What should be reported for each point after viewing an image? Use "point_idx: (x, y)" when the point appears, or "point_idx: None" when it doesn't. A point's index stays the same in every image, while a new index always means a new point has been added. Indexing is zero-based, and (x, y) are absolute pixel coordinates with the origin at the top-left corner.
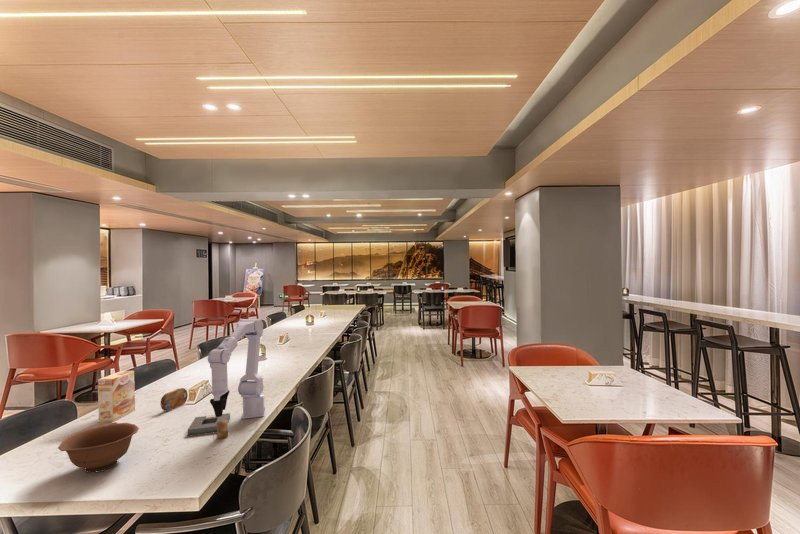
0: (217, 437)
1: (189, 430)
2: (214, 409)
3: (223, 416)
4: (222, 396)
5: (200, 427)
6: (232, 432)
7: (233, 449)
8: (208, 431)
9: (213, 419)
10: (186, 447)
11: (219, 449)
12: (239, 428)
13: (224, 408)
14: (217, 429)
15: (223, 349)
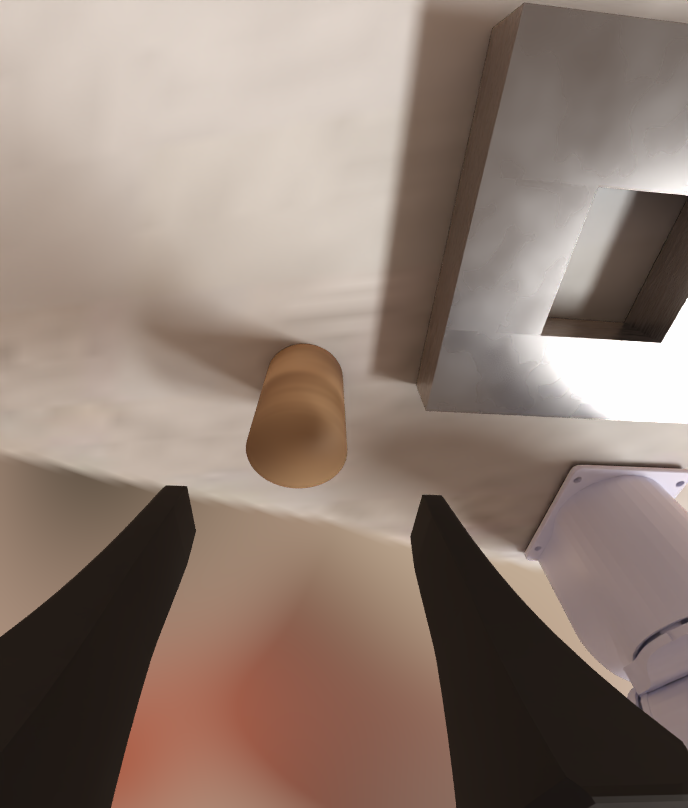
0: (285, 351)
1: (512, 41)
2: (75, 583)
3: (653, 384)
4: (477, 740)
5: (501, 192)
6: (363, 428)
7: (78, 450)
8: (446, 268)
9: (677, 298)
10: (163, 76)
11: (85, 377)
12: (412, 460)
13: (412, 548)
14: (274, 386)
15: None
